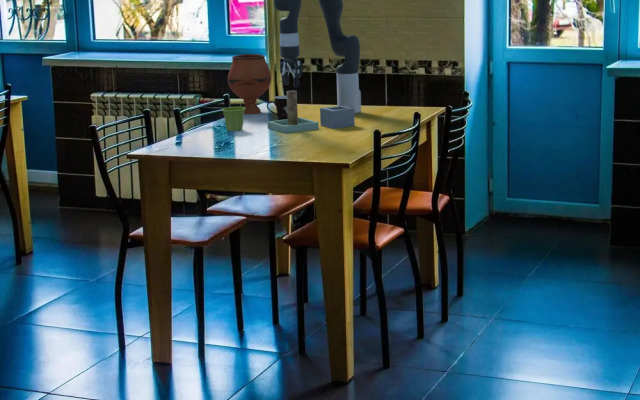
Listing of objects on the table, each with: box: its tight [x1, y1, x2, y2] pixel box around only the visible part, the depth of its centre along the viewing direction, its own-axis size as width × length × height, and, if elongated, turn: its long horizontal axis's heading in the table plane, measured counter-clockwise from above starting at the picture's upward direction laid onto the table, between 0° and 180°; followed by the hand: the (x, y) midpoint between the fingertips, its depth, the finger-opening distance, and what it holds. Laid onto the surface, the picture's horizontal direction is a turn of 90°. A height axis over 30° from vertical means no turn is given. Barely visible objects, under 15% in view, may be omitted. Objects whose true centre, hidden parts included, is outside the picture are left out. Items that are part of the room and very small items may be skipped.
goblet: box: [227, 53, 272, 115], centre depth 454 cm, size 19×19×25 cm
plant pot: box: [221, 106, 245, 132], centre depth 413 cm, size 9×9×9 cm
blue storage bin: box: [319, 105, 356, 130], centre depth 415 cm, size 10×10×7 cm
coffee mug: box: [266, 95, 288, 120], centre depth 431 cm, size 12×9×10 cm
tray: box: [267, 117, 320, 134], centre depth 413 cm, size 15×15×3 cm
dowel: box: [286, 90, 299, 126], centre depth 412 cm, size 4×4×14 cm
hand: (291, 86), depth 409 cm, fingers open, 8 cm apart
